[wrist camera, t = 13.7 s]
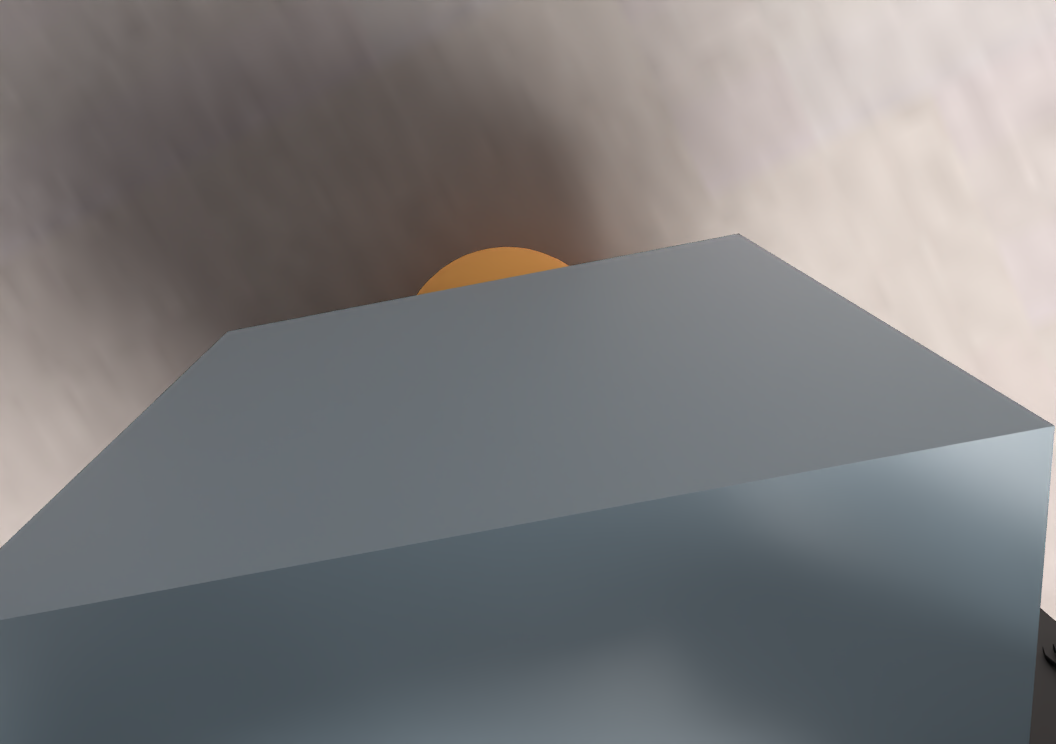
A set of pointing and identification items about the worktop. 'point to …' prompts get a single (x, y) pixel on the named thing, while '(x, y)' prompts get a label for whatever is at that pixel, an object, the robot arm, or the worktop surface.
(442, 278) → the ball
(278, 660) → the slate gray cube
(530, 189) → the worktop surface
